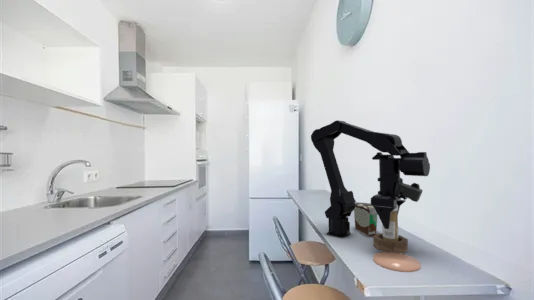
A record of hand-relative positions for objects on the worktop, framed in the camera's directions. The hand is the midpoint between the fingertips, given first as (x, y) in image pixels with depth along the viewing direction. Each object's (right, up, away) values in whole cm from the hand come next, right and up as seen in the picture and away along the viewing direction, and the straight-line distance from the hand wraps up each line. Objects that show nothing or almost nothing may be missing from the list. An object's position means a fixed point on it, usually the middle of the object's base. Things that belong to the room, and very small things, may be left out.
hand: (390, 225), depth 78 cm
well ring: (0, -7, 0) cm, 7 cm away
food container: (0, -7, +16) cm, 17 cm away
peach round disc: (-4, -7, -11) cm, 13 cm away
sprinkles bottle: (0, -7, 0) cm, 7 cm away
